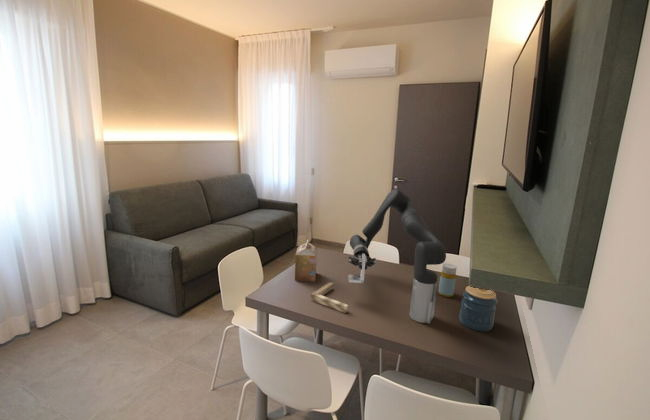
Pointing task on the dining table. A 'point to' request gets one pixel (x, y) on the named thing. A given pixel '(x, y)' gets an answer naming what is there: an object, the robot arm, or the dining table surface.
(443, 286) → the bottle
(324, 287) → the wooden l-shaped corner
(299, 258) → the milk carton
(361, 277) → the bracket
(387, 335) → the dining table surface
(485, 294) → the canister
